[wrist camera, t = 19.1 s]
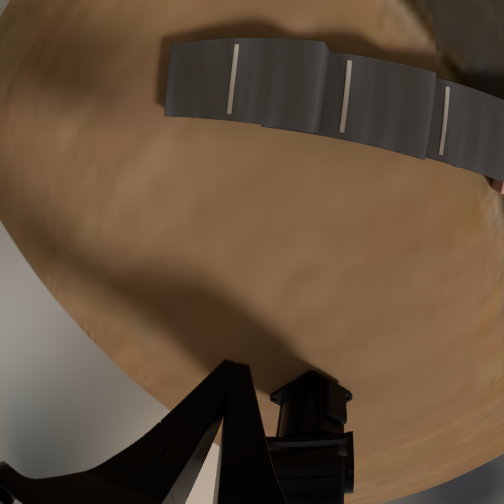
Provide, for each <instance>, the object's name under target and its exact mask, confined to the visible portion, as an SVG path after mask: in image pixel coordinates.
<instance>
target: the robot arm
mask: <svg viewBox="0 0 504 504" xmlns="http://www.w3.org/2000/svg"><path fill="white" fill-rule="evenodd" d="M311 375H312V376H311ZM350 400H352V394H351V393H350V392H348V391H346V390H345V389H343V388H341V387H339V386H338V385H336V384H334V383H333V382H331V381H329V380H328V379H326V378H325V377H323V376H321V375H320V374H318V373H316V372H315V371H308V372H307V373H305V374H304V375H302V376H300V377H299V378H297V379H296V380H294V381H293V382H291V383H289V384H288V385H286V386H284V387H283V388H281V389H280V390H278V391H276V392H275V393H273V394H271V395H270V401H272V402H274V403H276V404H278V405H279V406H280V412H279V419H278V426H277V432H276V437H266V436H265V432H264V427H263V423H262V419H261V414H260V410H259V405H258V401H257V396H256V392H255V387H254V383H253V378H252V374H251V369H250V366H249V364H245V363H241V362H238V363H236V361H233V360H229V359H224V360H223V361H222V362H221V363H220V364H219V365H218V366H217V367H216V368H215V369H214V370H213V371H212V372H211V373H210V374H209V375H208V376H207V377H206V378H205V379H204V380H203V381H202V382H201V383H200V384H199V385H198V386H197V387H196V388H195V389H194V390H193V391H192V392H191V393H189V394H188V395H187V396H186V397H185V398H184V399H183V400H182V401H181V402H180V403H179V404H178V405H177V406H176V407H175V408H174V409H173V410H172V411H171V412H169V413H168V414H167V415H166V416H165V417H164V418H163V419H162V420H161V422H159V423H157V424H156V425H155V426H154V427H153V428H152V429H151V430H150V431H149V432H147V433H146V434H145V435H144V436H143V437H141V438H140V439H139V440H137V441H136V442H134V443H133V444H132V445H130V446H129V447H127V448H126V449H124V450H123V451H121V452H119V453H118V454H116V455H115V456H113V457H112V458H110V459H108V460H107V461H105V462H103V463H102V464H100V465H98V466H96V467H95V468H92V469H89V470H86V471H82V472H78V473H72V474H67V475H61V476H55V477H48V478H41V479H33V478H28V477H25V476H23V475H21V474H20V473H19V472H18V471H16V470H15V469H14V468H12V467H11V466H10V465H9V464H7V463H6V462H5V461H2V462H0V504H185V502H186V500H187V498H188V496H189V494H190V492H191V490H192V487H193V485H194V483H195V481H196V479H197V477H198V474H199V472H200V470H201V468H202V466H203V463H204V461H205V459H206V457H207V454H208V452H209V450H210V448H211V445H212V443H213V441H214V439H215V436H216V434H217V432H218V429H219V427H220V425H221V422H222V420H223V424H222V432H221V440H220V448H219V457H218V465H217V473H216V481H215V490H214V498H213V504H344V494H350V493H353V488H354V449H353V431H350V432H347V433H344V424H346V422H347V410H346V402H348V401H350ZM223 417H224V418H223Z"/></svg>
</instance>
